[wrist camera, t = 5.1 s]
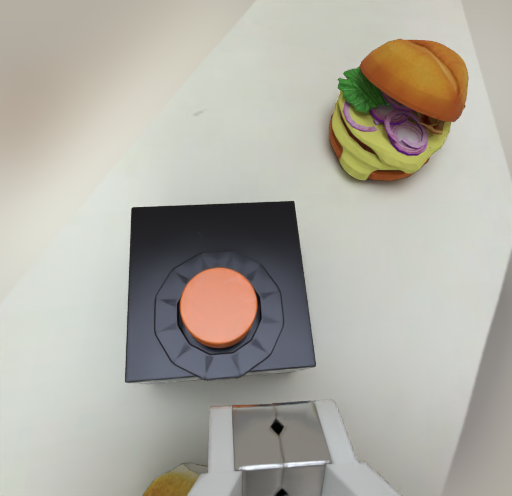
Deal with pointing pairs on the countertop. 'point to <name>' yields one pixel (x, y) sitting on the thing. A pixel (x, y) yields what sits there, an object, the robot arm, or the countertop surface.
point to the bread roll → (176, 481)
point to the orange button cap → (218, 307)
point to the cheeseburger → (397, 108)
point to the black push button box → (206, 257)
